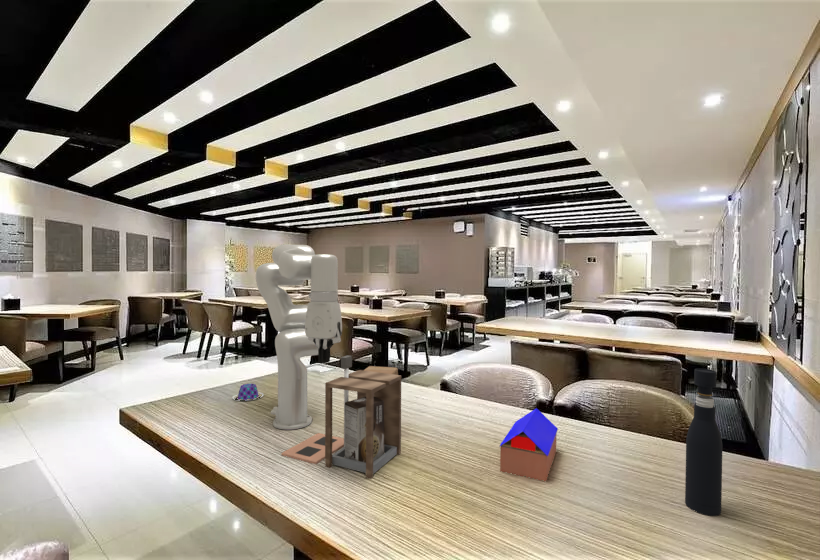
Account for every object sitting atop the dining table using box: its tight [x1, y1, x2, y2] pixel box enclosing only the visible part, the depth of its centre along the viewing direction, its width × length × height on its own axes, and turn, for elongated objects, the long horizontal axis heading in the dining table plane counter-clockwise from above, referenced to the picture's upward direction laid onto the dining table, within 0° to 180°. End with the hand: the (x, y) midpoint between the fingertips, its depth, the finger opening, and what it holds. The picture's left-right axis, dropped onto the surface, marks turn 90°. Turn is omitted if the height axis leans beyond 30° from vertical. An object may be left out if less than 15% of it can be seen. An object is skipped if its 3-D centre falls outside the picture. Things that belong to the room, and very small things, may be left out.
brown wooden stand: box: [324, 369, 402, 480], centre depth 110 cm, size 14×16×22 cm
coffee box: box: [344, 397, 385, 463], centre depth 110 cm, size 9×6×16 cm
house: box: [499, 407, 559, 482], centre depth 110 cm, size 12×20×12 cm, turn 153°
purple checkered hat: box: [231, 383, 265, 402], centre depth 165 cm, size 12×12×5 cm
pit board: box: [280, 432, 344, 465], centre depth 117 cm, size 12×16×1 cm
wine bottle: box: [684, 368, 723, 517], centre depth 88 cm, size 6×6×30 cm
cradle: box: [332, 355, 398, 475], centre depth 110 cm, size 13×13×27 cm
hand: (324, 362), depth 116 cm, fingers closed
